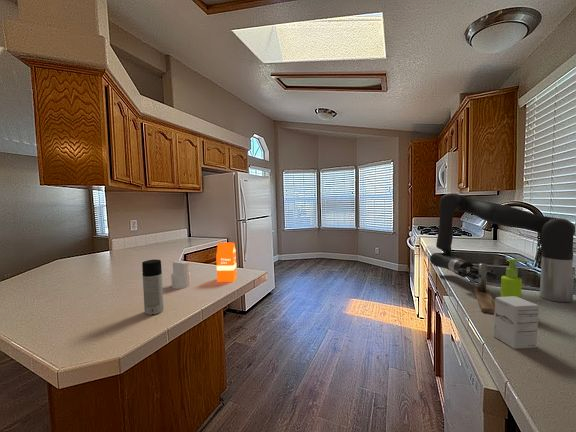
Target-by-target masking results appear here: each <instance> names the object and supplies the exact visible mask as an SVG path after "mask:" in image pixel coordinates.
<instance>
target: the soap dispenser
mask: <svg viewBox="0 0 576 432" xmlns="http://www.w3.org/2000/svg"><path fill="white" fill-rule="evenodd" d="M506 261H507V262H508V263H509V264H508V266H507V267H506V268H505V275H501V278H500V281H501V282H500V297H509V296H516V297H519V298H521V299H522V287H523V286H522V285H523V278H521V277H518V275H519V271H518V270H519V269H518V268H517V267H516V263H518V262H519V263H527V261H526V260H523V259H517V258H506Z"/></svg>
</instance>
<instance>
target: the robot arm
mask: <svg viewBox="0 0 576 432" xmlns="http://www.w3.org/2000/svg"><path fill="white" fill-rule="evenodd" d="M455 212H461V213H463V212H464V213H467V214H471V215H473V216H475V217H476V218H477V217H478V218H479V219H482V220H483V221H486V222H489V223H491V224H495V225H498V226H503V227H508V228H515V229H522V230H528V231H533V232H534V233H538V234H541V238H540V239H541V242H540V243H541V246H540V247H541V248H540V249H541V261H540V263H541V264H540V265H541V267H540V283H539V284H540V285H539V297H541V298H543V299H545V300H547V301H548V300H549V301H553V302H559V303H573V301H574V299H573V298H574V285H575V280H574V278H573V264H574V263H573V262H574V236H575V234H576V226H575V225H574V223H573V222H572V221H570V220H568V219H566V218H561V217H553V216H546V215H540V214H536V213H531V212H529V211H526V210H523V209H519V208H517V207H512V206H508V205H504V204H500V203H495V202H490V201H485V200H478V199H473V198H471V197H467V196H465V195H462V194H459V193H447V194H444V195H443V196H441V197H440V200H439V221H438V222H439V226H438V233H437V237H436V245H435V247H436V248H437V249H439V250H442V251H443V252H433V253H432V254H431V255H430V256H429V261H430V263H431V264H432V266H435V267H438V268H442V269H446V270H448V271H451V272H452V273H454V274H455V275H457V276H459V277H462V278H470V279H472V280H477V279H478V271H479V267H477V266H475V265H474V264H473V262H470V261H468V260H465V259H462V258H459V257H458V258H457V257H455V256H453V254H452V243H453V238H454V231H453V229H454V228H453V219H454V214H455ZM487 278H491V279H492V280H496V279H497V274H496V273H495V272H494V270H491V269H489V268H487Z"/></svg>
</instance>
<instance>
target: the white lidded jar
mask: <svg viewBox="0 0 576 432" xmlns="http://www.w3.org/2000/svg"><path fill="white" fill-rule="evenodd" d="M170 276H171V278H170V279H171V288H172V289H174V288H175V289H176V290H179V289H181V288H182V289H186V287H187V288H189V287H191V285H192V278H191V277H192V275H191V272H190V266H189V262H188V261H182V260H174V261H172V273H171V275H170Z"/></svg>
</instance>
